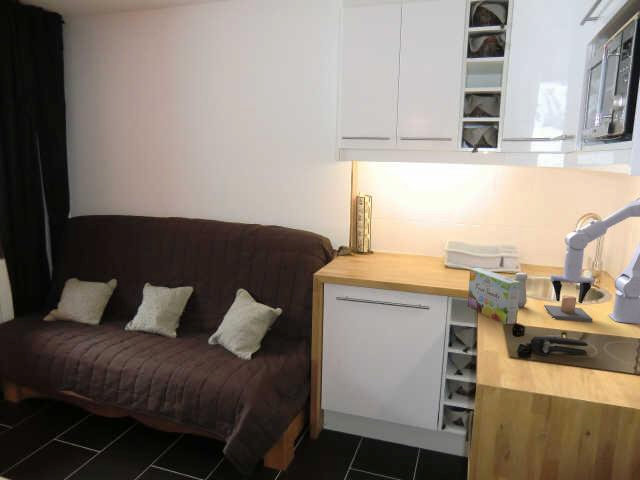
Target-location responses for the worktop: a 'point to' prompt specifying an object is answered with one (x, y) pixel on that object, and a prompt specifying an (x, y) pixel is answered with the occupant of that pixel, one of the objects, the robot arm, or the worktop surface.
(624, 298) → the robot arm
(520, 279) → the salt shaker
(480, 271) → the snack box
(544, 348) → the can opener
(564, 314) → the plate
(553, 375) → the worktop surface
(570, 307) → the toy block
